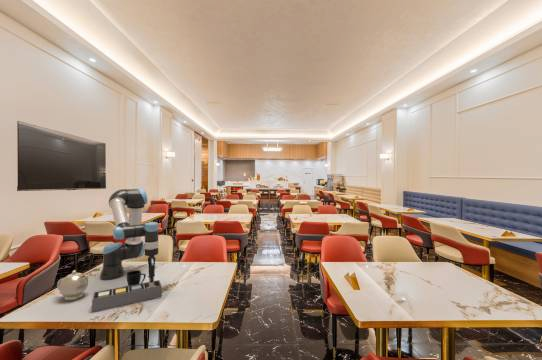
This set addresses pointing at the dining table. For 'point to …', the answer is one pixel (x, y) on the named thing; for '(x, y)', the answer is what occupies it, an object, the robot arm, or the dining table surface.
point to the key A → (103, 294)
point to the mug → (134, 277)
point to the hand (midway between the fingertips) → (151, 287)
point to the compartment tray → (126, 296)
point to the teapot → (73, 286)
